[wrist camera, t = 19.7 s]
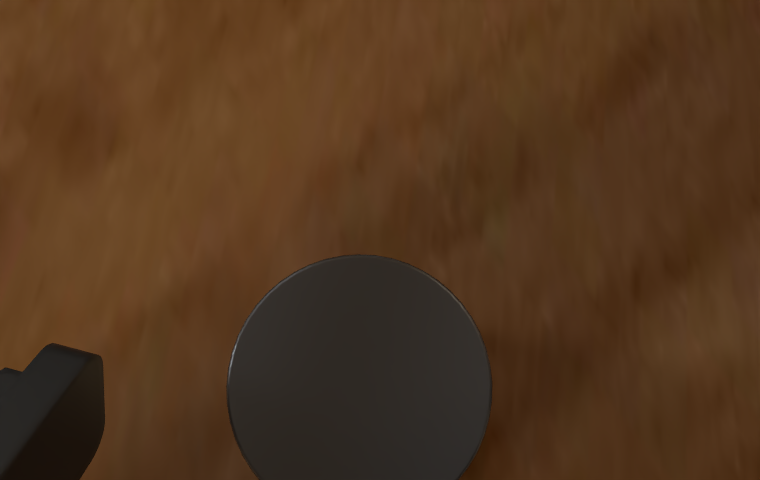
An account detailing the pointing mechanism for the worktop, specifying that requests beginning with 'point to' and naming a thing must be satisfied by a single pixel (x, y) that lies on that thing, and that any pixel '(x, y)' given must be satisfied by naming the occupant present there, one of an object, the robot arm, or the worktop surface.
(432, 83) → the worktop surface
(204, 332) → the worktop surface
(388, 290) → the beige jar
